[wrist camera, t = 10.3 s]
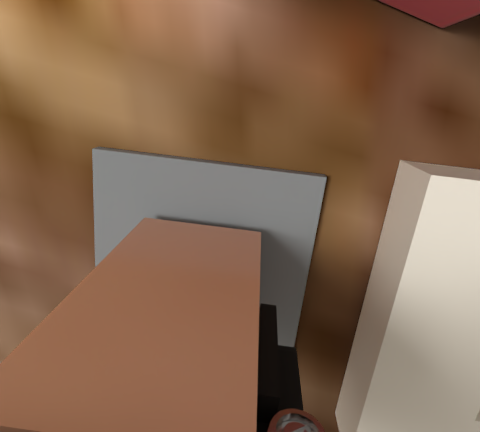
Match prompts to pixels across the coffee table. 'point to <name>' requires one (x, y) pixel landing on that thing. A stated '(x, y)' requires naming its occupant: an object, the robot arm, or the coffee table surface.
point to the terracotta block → (147, 340)
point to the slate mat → (216, 213)
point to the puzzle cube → (438, 10)
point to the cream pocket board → (420, 311)
